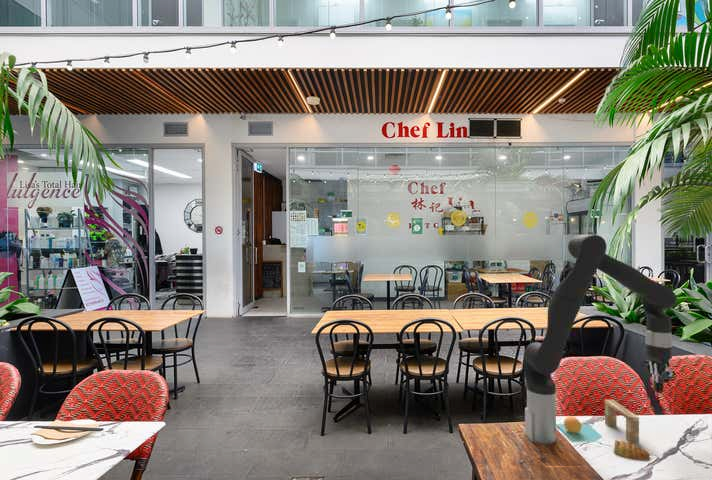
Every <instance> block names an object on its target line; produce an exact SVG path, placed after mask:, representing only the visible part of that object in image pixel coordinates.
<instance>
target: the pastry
mask: <svg viewBox="0 0 712 480" xmlns="http://www.w3.org/2000/svg"><path fill="white" fill-rule="evenodd" d="M613 454H615V455H618V456H620V457H622V458H628V459H635V460H643V461H644V460H645V461H646V460H647V461H648V460H650V453H649V452H648V451H646V449H643V448H641V447H639V446H637V445H635V444H633V443H629V442H628V441H627V442H626V441H624V440H617V439H616V440H614V447H613Z"/></svg>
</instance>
